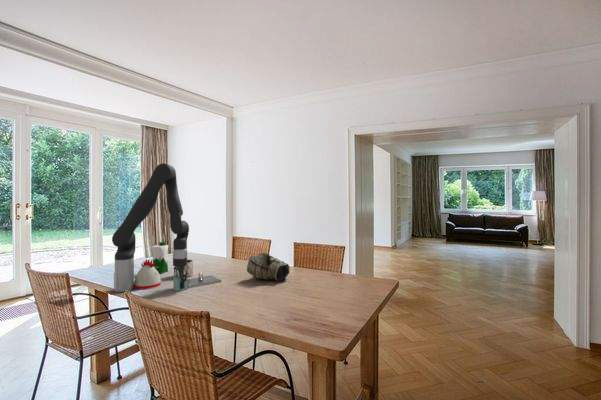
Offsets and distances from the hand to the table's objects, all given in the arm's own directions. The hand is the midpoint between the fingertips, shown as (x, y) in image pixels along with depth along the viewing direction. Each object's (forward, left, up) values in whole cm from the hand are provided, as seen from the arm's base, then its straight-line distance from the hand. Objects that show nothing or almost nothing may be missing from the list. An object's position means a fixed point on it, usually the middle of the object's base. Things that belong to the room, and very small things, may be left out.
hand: (180, 287), depth 174 cm
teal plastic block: (0, 0, -1) cm, 1 cm away
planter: (+12, +27, -1) cm, 30 cm away
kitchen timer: (-12, +19, -1) cm, 23 cm away
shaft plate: (+14, +6, -1) cm, 15 cm away
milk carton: (+3, +47, -1) cm, 47 cm away
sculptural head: (+50, -13, -1) cm, 52 cm away
